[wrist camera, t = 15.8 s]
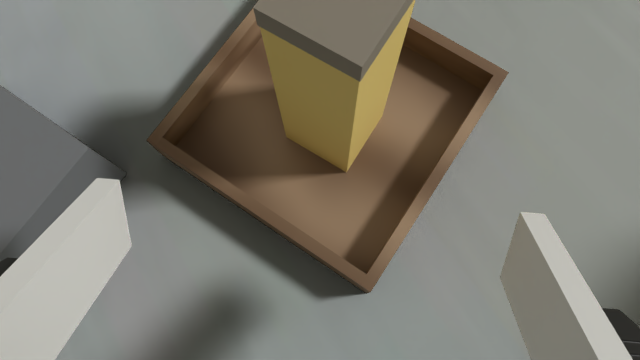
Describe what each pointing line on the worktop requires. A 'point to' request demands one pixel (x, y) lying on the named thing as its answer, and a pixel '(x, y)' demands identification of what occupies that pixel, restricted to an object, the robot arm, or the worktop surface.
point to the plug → (332, 68)
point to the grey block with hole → (39, 173)
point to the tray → (313, 171)
